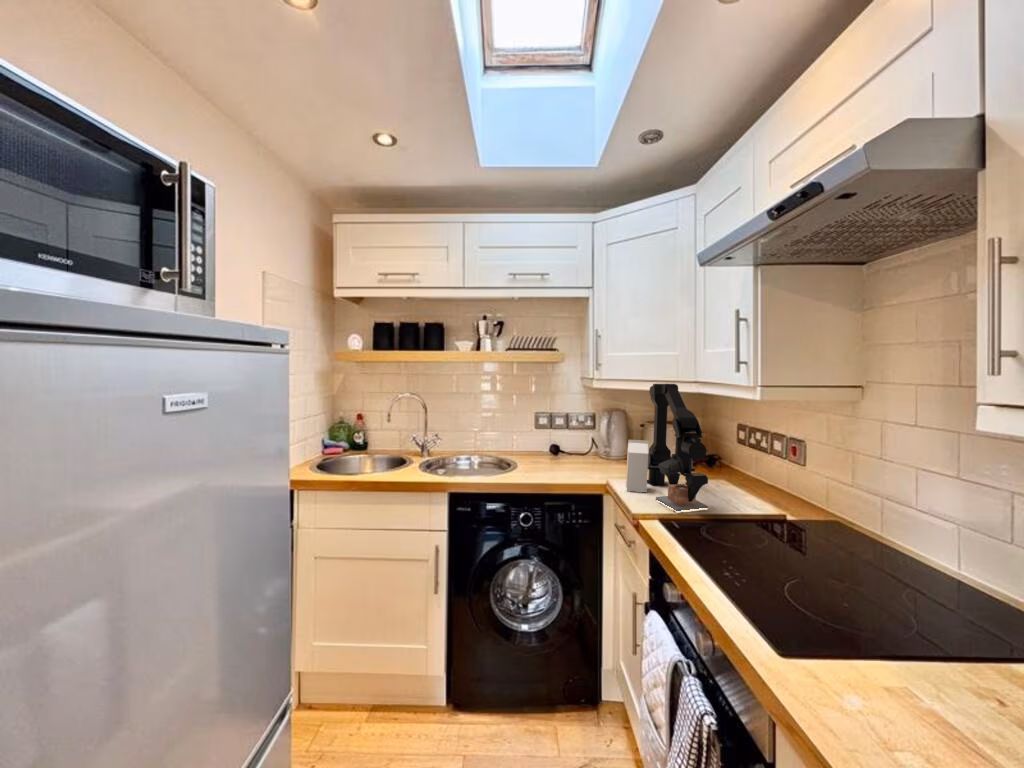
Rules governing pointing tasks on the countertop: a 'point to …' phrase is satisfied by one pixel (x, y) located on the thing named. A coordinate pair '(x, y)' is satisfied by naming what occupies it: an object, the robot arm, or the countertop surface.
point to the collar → (679, 494)
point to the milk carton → (637, 465)
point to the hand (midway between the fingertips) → (681, 497)
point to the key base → (680, 507)
